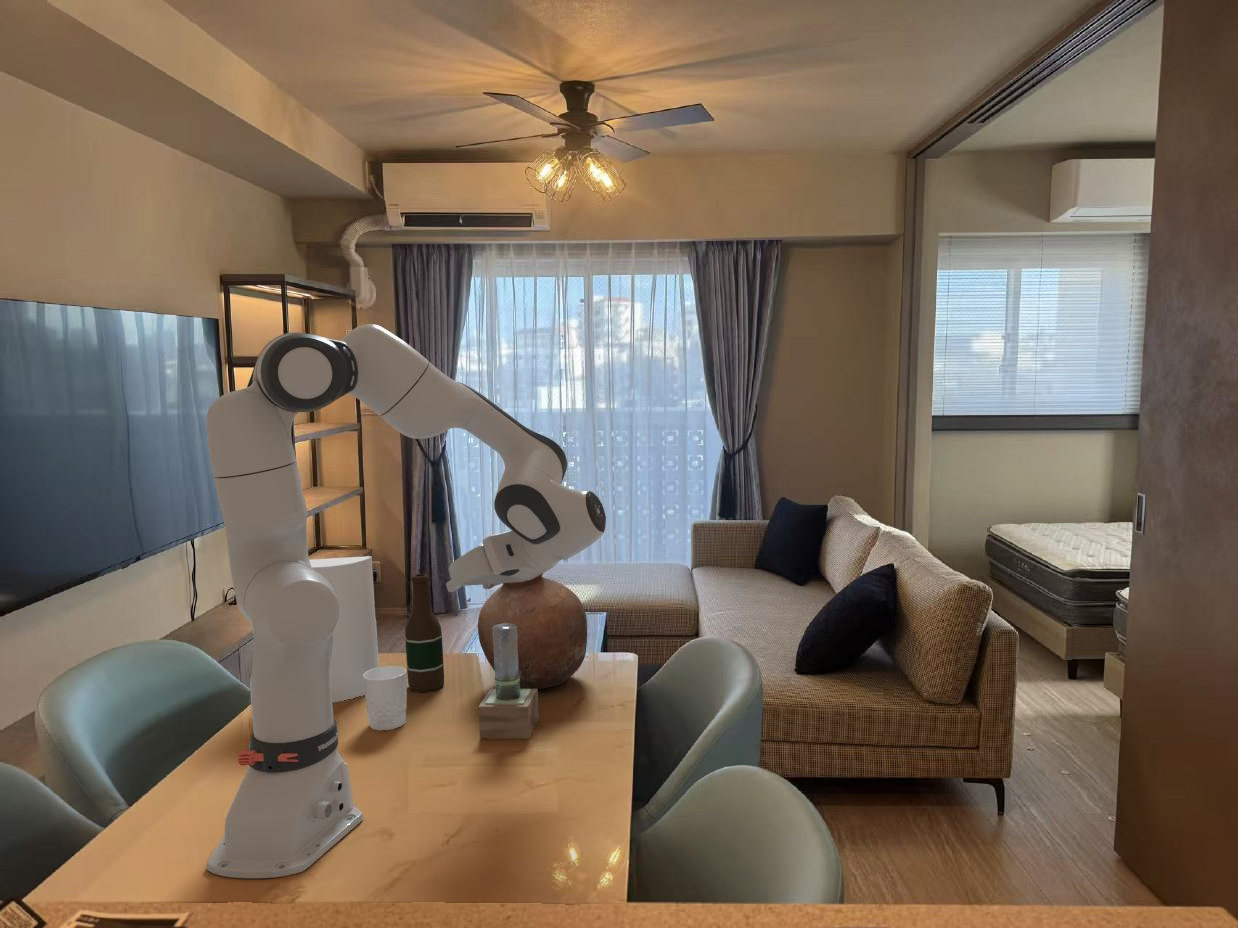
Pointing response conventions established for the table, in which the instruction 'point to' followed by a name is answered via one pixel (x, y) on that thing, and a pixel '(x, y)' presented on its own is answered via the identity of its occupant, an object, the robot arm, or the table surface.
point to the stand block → (509, 715)
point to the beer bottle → (423, 641)
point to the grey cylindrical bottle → (506, 661)
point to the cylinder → (351, 623)
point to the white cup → (386, 697)
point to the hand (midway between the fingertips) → (467, 586)
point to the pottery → (538, 629)
